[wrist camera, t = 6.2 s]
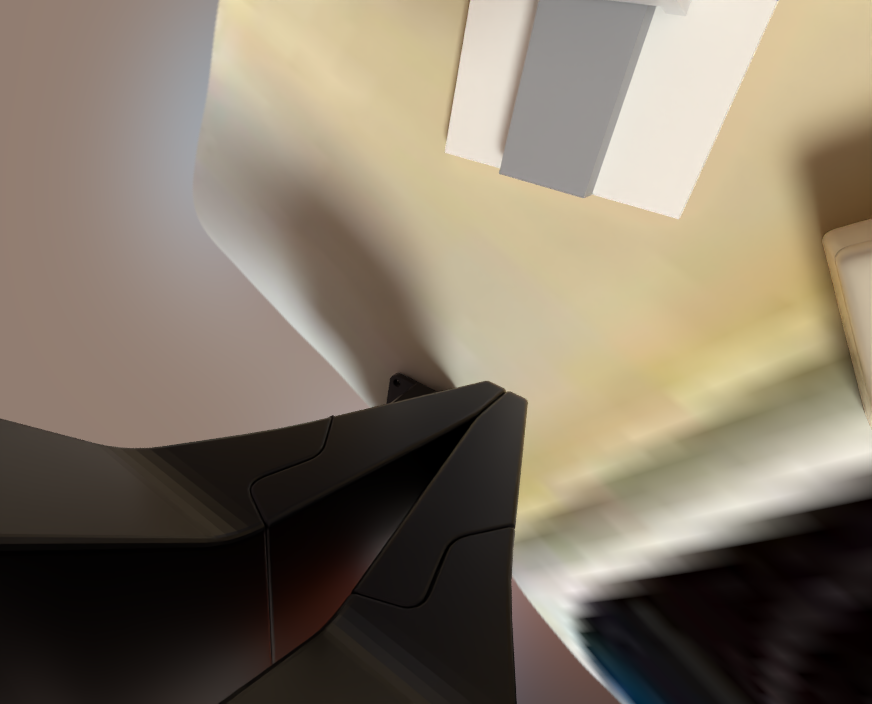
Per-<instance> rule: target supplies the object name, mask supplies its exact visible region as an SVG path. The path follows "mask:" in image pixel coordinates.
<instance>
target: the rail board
mask: <svg viewBox="0 0 872 704" xmlns="http://www.w3.org/2000/svg"><path fill="white" fill-rule="evenodd" d="M778 2H779V0H692V1H691V4H690V6H689V9H688V12H687V14H686V16H681V15H673V14H666V13H665V11H664V10H663V9H662V7H661V6H652V5H644V4H636V3H627V2H619V1H611V0H470V4H469V10H468V16H467V22H466V28H465V34H464V40H463V46H462V52H461V58H460V64H459V70H458V76H457V82H456V88H455V94H454V100H453V106H452V112H451V118H450V124H449V130H448V136H447V142H446V148H445V153H448V154H452V155H455V156H459V157H462V158H466V159H469V160H473V161H476V162H480V163H483V164H487V165H490V166H494V167H497V168H500V171H499V174H502V175H505V176H509V177H512V178H516V179H519V180H522V181H526V182H529V183H533V184H536V185H540V186H543V187H547V188H550V189H554V190H557V191H560V192H564V193H567V194H571V195H574V196H578V197H581V198H585V197H588V196H590V195H596V196H599V197H603V198H606V199H610V200H613V201H617V202H620V203H624V204H627V205H631V206H634V207H638V208H641V209H645V210H648V211H652V212H655V213H659V214H662V215H666V216H669V217H673V218H676V219H679V218H680V217H681V215H682V213H683V211H684V209H685V207H686V204H687V202H688V200H689V198H690V196H691V193H692V191H693V189H694V187H695V185H696V182H697V180H698V178H699V176H700V174H701V171H702V169H703V167H704V165H705V163H706V160H707V158H708V156H709V154H710V152H711V149H712V147H713V145H714V143H715V141H716V138H717V136H718V134H719V132H720V130H721V127H722V125H723V123H724V121H725V119H726V116H727V114H728V112H729V110H730V108H731V105H732V103H733V101H734V99H735V96H736V94H737V92H738V90H739V88H740V85H741V83H742V81H743V79H744V77H745V74H746V72H747V70H748V68H749V66H750V63H751V61H752V59H753V57H754V55H755V52H756V50H757V48H758V46H759V44H760V41H761V39H762V37H763V35H764V33H765V30H766V28H767V26H768V24H769V22H770V19H771V17H772V15H773V13H774V11H775V8H776V6H777V4H778Z"/></svg>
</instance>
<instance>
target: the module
mask: <svg viewBox="0 0 872 704" xmlns="http://www.w3.org/2000/svg"><path fill="white" fill-rule="evenodd" d="M611 1H619V2H627V3H636V4H644V5H652V6H661V7H662V9H663V10H664V11H665V13H666V14H673V15H681V16H686V14H687V12H688V9H689V6H690V4H691V1H692V0H611Z"/></svg>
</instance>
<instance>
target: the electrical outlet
mask: <svg viewBox="0 0 872 704" xmlns="http://www.w3.org/2000/svg"><path fill="white" fill-rule="evenodd" d="M822 243H823V248H824V252H825V256H826V260H827V264H828V268H829V272H830V276H831V280H832V284H833V288H834V292H835V296H836V300H837V304H838V308H839V312H840V316H841V320H842V324H843V328H844V332H845V336H846V340H847V344H848V348H849V352H850V356H851V360H852V364H853V368H854V372H855V376H856V380H857V384H858V388H859V392H860V396H861V400H862V404H863V408H864V412H865V415H866V417H867V420H868V422H869V425H870V427H871V429H872V218H871V219H868V220H864V221H861V222H857V223H854V224H850V225H847V226H843V227H840V228H836V229H833V230H830V231H828V232H827V233H826V234H825V235H824V236H823V238H822Z"/></svg>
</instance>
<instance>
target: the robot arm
mask: <svg viewBox="0 0 872 704" xmlns="http://www.w3.org/2000/svg"><path fill="white" fill-rule="evenodd" d="M397 380H398V381H399V382H400V383H399V382H398V381H397ZM527 405H528V402H527V400H526V399H525V398H523V397H521V396H519V395H516V394H514V393H512V392H506V390H505V389H504V388H502V387H500V386H498V385H496V384H494V383H492V382H490V381H483V382H479V383H475V384H470V385H466V386H462V387H458V388H453V389H449V390H445V391H441V392H436V391H434V390H432V389H430V388H428V387H426V386H425V385H423V384H421V383H419V382H417V381H415V380H413V379H411V378H409V377H407V376H405V375H403V374H401V373H396V374H395V375H393V376H392V377H391V378H390V383H389V390H388V397H387V404H385V405H381V406H377V407H372V408H368V409H364V410H359V411H355V412H351V413H347V414H342V415H338V416H333V415H332V416H330V417H328V418H325V419H320V420H316V421H312V422H307V423H303V424H298V425H293V426H288V427H284V428H279V429H273V430H267V431H261V432H255V433H250V434H243V435H236V436H230V437H223V438H216V439H209V440H203V441H196V442H189V443H182V444H176V445H169V446H162V447H154V448H119V447H112V446H105V445H100V444H96V443H92V442H88V441H85V440H81V439H77V438H73V437H69V436H65V435H61V434H58V433H54V432H50V431H46V430H42V429H38V428H34V427H31V426H27V425H23V424H19V423H16V422H12V421H8V420H4V419H0V704H517V701H516V683H515V665H514V647H513V628H512V595H511V594H512V590H511V579H512V561H513V547H514V537H515V530H514V529H515V524H516V514H517V505H518V495H519V485H520V475H521V465H522V455H523V445H524V435H525V425H526V415H527Z"/></svg>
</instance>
